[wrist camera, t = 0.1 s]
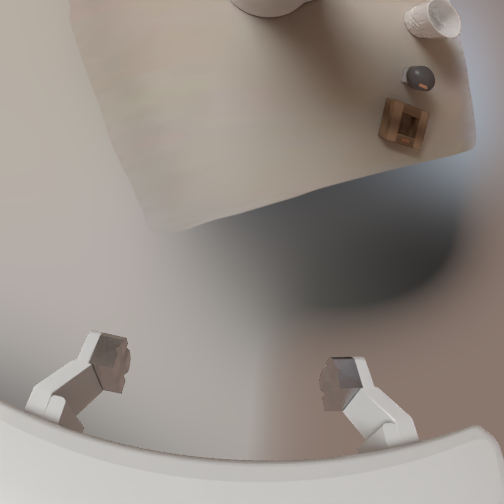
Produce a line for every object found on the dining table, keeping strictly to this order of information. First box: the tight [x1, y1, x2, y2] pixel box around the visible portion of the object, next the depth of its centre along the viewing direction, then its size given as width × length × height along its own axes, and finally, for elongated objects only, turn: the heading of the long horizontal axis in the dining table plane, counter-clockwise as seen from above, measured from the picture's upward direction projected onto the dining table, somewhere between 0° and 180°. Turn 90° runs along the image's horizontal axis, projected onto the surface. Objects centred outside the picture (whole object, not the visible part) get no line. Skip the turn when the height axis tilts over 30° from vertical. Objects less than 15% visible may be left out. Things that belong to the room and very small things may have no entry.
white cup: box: [404, 0, 461, 38], centre depth 34 cm, size 8×8×10 cm
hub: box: [378, 98, 429, 150], centre depth 48 cm, size 8×8×4 cm
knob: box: [402, 66, 435, 91], centre depth 42 cm, size 5×5×6 cm
